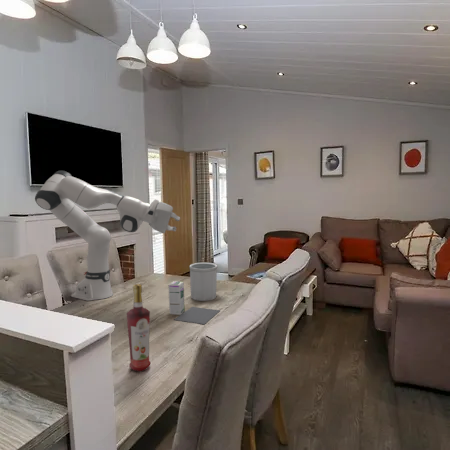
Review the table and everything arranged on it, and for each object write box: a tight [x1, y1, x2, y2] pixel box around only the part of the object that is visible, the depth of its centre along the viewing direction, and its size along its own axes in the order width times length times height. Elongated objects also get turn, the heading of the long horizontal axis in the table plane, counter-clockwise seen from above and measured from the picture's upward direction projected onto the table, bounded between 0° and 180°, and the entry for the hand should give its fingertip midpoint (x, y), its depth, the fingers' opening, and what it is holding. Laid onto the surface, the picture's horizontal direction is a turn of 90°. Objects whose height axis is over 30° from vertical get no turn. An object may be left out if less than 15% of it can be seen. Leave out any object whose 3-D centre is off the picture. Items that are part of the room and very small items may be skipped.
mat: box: [173, 306, 221, 326], centre depth 163 cm, size 15×18×1 cm
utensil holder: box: [189, 262, 218, 302], centre depth 190 cm, size 15×15×18 cm
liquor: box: [126, 283, 152, 372], centre depth 114 cm, size 7×7×28 cm
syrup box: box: [168, 280, 186, 316], centre depth 167 cm, size 6×6×14 cm
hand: (177, 224), depth 170 cm, fingers open, 8 cm apart
